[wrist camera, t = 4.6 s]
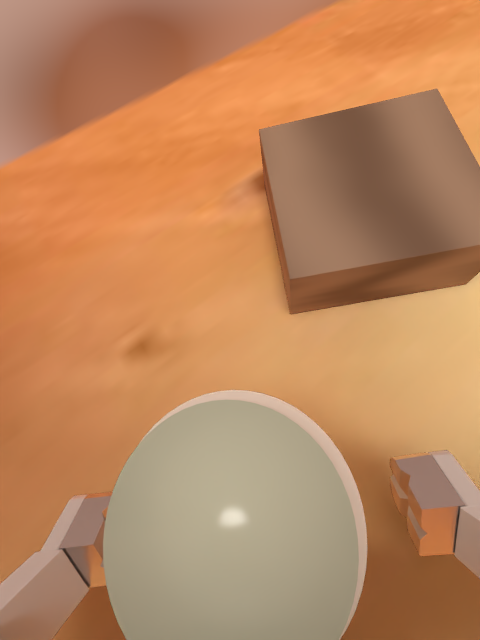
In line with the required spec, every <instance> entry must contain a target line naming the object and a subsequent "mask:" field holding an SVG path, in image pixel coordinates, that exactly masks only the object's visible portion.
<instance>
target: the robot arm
mask: <svg viewBox="0 0 480 640" xmlns="http://www.w3.org/2000/svg"><path fill="white" fill-rule="evenodd" d="M390 467H391V470H392V472H393V475H392V476H391V477H390V485H391V490H392V495H393V498H394V501H395V504H396V506H397V508H398V511H399V513H400V514H401V515H402V516H404V517H405V518H406V519H407V530H408V532H409V535H410V537H411V539H412V541H413V543H414V545H415V547H416V550H417V552H418V554H419V556H429V555H445V554H454V556H455V557H456V558H457V559H458V560H459V561H461V562H462V563H463V564H464V565H465V566H466V567H467V568H468V569H469V570H470V571H472V572H473V573H474V574H475V575H476V576H477V577H478V578H479V579H480V491H479V489H478V488H477V487H476V485H475V484H474V483H473V481H472V480H471V479H470V477H469V476H468V475H467V473H466V472H465V471H464V469H463V468H462V467H461V466H460V464H459V463H458V462H457V460H456V459H455V458H454V456H453V455H452V454H451V453H450V452H449V451H447V450H443V451H435V452H428V453H426V452H424V453H417V454H409V455H402V456H395V457H391V459H390ZM111 496H112V492H105V493H95V494H85V495H76V496H73V497H72V498H71V499H70V500H69V501H68V503H67V505H66V506H65V508H64V510H63V512H62V513H61V515H60V517H59V519H58V521H57V522H56V524H55V526H54V528H53V529H52V531H51V533H50V535H49V537H48V538H47V540H46V542H45V544H44V545H43V547H42V549H41V551H40V552H35V553H34V554H33V555H32V556H31V557H29V558H28V559H27V560H26V561H25V562H24V563H23V564H22V565H21V566H20V567H18V568H17V569H16V570H15V571H14V572H13V573H12V574H11V575H10V576H9V577H7V578H6V579H5V580H4V581H3V582H2V583H1V584H0V640H52V639H53V637H54V636H55V635H56V633H57V632H58V631H59V629H60V628H61V627H62V625H63V624H64V623H65V621H66V620H67V619H68V617H69V616H70V615H71V613H72V612H73V611H74V609H75V608H76V607H77V605H78V604H79V603H80V601H81V600H82V599H83V597H84V596H85V595H86V594H87V592H88V591H89V588H91V587H99V586H106V580H105V572H104V564H103V538H104V526H105V521H106V515H107V510H108V506H109V502H110V499H111Z"/></svg>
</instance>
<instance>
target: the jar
mask: <svg viewBox="0 0 480 640" xmlns="http://www.w3.org/2000/svg"><path fill="white" fill-rule="evenodd" d="M103 564H104V572H105V580H106V586H107V590H108V594H109V598H110V603H111V605H112V608H113V611H114V614H115V617H116V619H117V622H118V624H119V626H120V628H121V630H122V632H123V634H124V636H125V638H126V640H340V639H341V637H342V636H343V634H344V633H345V631H346V630H347V628H348V626H349V623H350V621H351V619H352V617H353V615H354V613H355V611H356V608H357V605H358V602H359V598H360V595H361V592H362V589H363V583H364V578H365V572H366V564H367V530H366V522H365V516H364V510H363V505H362V501H361V498H360V495H359V491H358V488H357V485H356V483H355V480H354V478H353V476H352V473H351V471H350V469H349V467H348V465H347V463H346V461H345V460H344V458H343V456H342V454H341V453H340V451H339V450H338V448H337V447H336V446H335V444H334V443H333V441H332V440H331V439H330V437H329V436H328V435H327V434H326V433H325V432H324V431H323V430H322V429H321V428H320V427H319V426H318V424H316V423H315V422H314V421H313V420H312V419H310V418H309V417H308V416H307V415H306V414H304V413H303V412H301V411H300V410H298V409H297V408H295V407H294V406H292V405H290V404H288V403H286V402H284V401H282V400H280V399H278V398H275V397H272V396H269V395H266V394H263V393H258V392H253V391H245V390H227V391H218V392H213V393H208V394H204V395H202V396H199V397H196V398H193V399H191V400H189V401H187V402H185V403H183V404H181V405H179V406H178V407H176V408H175V409H173V410H172V411H170V412H169V413H168V414H166V415H165V416H164V417H163V418H162V419H160V420H159V421H158V422H157V423H156V424H155V425H154V426H153V427H152V428H151V429H150V431H149V432H148V433H147V434H146V435H145V436H144V438H143V439H142V440H141V442H140V443H139V445H138V446H137V447H136V448H135V450H134V451H133V453H132V454H131V456H130V457H129V458H128V460H127V462H126V464H125V466H124V467H123V469H122V471H121V473H120V475H119V477H118V480H117V482H116V484H115V487H114V489H113V492H112V496H111V499H110V502H109V506H108V510H107V515H106V521H105V526H104V538H103Z"/></svg>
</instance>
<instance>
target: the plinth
mask: <svg viewBox="0 0 480 640" xmlns="http://www.w3.org/2000/svg"><path fill="white" fill-rule="evenodd" d="M259 135H260V144H261V154H262V164H263V173H264V183H265V190H266V195H267V200H268V205H269V210H270V215H271V220H272V225H273V230H274V235H275V240H276V245H277V250H278V255H279V260H280V265H281V270H282V275H283V280H284V285H285V290H286V295H287V300H288V305H289V310H290V314H294V313H300V312H306V311H312V310H318V309H324V308H329V307H335V306H341V305H347V304H353V303H358V302H364V301H370V300H376V299H382V298H388V297H393V296H399V295H405V294H411V293H417V292H423V291H428V290H434V289H440V288H446V287H452V286H458V285H463V284H467V283H468V282H469V281H470V280H471V279H472V278H473V277H474V276H476V275H477V274H478V273H479V272H480V167H479V165H478V163H477V161H476V159H475V157H474V156H473V154H472V152H471V150H470V148H469V146H468V144H467V143H466V141H465V139H464V137H463V135H462V133H461V132H460V130H459V128H458V126H457V124H456V122H455V120H454V119H453V117H452V115H451V113H450V111H449V109H448V108H447V106H446V104H445V102H444V100H443V98H442V96H441V95H440V93H439V91H438V89H433V90H429V91H425V92H420V93H416V94H412V95H407V96H403V97H399V98H394V99H390V100H385V101H381V102H377V103H372V104H368V105H364V106H359V107H355V108H351V109H346V110H342V111H337V112H333V113H329V114H324V115H320V116H316V117H311V118H307V119H303V120H298V121H294V122H290V123H285V124H281V125H276V126H272V127H268V128H263V129H259Z"/></svg>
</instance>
